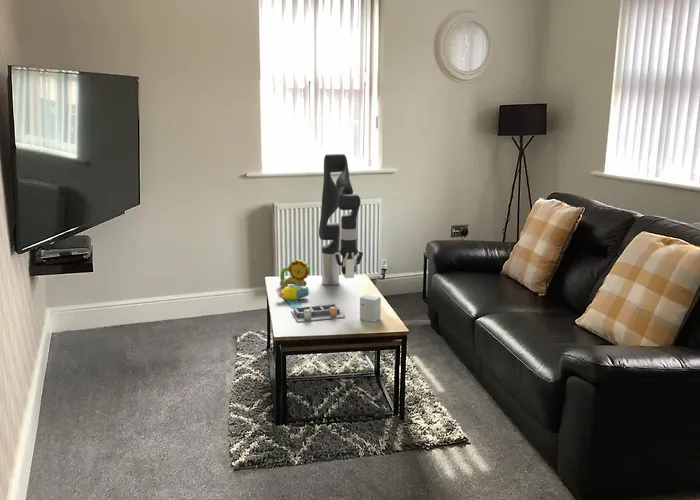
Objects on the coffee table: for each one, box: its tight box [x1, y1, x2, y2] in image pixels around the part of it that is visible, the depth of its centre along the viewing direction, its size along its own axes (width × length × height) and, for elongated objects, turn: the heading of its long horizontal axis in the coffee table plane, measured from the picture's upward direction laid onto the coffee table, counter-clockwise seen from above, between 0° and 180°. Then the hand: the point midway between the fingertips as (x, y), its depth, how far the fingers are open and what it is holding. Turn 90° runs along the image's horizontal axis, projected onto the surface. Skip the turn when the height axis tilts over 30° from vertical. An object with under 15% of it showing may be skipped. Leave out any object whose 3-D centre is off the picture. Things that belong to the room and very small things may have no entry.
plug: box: [342, 259, 355, 279], centre depth 291 cm, size 4×4×9 cm
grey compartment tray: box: [290, 303, 346, 324], centre depth 288 cm, size 14×22×5 cm, turn 107°
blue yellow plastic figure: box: [276, 284, 310, 310], centre depth 309 cm, size 28×9×15 cm
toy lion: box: [279, 258, 311, 288], centre depth 329 cm, size 16×5×15 cm, turn 76°
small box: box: [359, 294, 382, 323], centre depth 283 cm, size 8×6×10 cm
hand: (348, 273), depth 291 cm, fingers closed on plug, 4 cm apart
